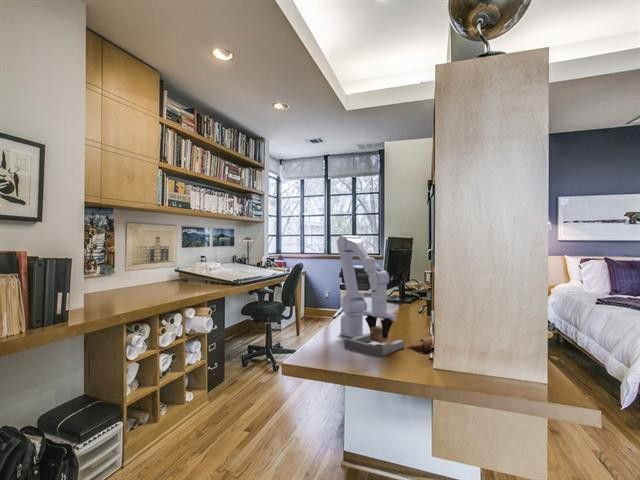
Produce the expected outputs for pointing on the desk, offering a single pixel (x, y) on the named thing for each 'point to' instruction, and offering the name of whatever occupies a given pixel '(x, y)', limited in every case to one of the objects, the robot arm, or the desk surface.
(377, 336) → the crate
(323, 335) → the desk surface
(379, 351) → the bay
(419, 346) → the sunglasses case
